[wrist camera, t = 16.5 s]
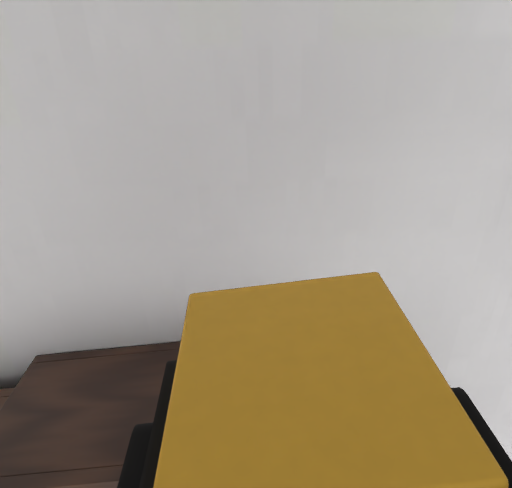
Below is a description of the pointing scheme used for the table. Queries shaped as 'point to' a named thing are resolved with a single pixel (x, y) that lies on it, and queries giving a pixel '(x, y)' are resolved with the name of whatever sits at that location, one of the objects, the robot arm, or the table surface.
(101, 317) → the table surface
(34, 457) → the cabinet
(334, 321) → the yellow box
